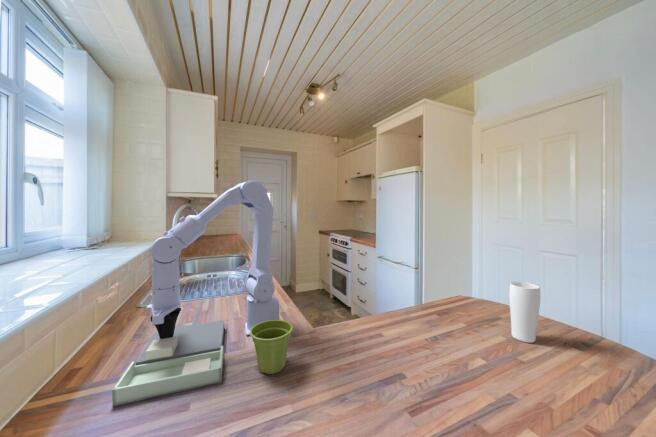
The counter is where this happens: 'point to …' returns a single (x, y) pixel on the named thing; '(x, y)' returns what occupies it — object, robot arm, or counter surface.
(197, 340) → the board
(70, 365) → the counter surface
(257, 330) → the plant pot
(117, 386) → the tray
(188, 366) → the tile
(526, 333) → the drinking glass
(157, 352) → the tile
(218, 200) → the robot arm
